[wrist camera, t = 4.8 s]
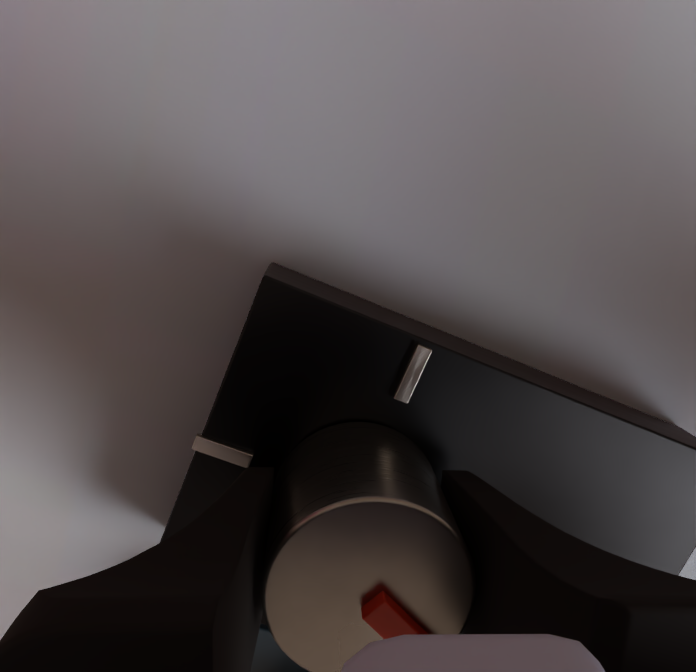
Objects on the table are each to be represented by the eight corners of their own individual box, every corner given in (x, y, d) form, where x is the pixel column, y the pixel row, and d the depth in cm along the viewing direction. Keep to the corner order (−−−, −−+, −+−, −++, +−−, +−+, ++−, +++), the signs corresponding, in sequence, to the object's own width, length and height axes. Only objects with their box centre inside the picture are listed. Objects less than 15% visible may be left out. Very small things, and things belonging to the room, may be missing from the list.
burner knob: (238, 493, 14) (211, 606, 10) (363, 387, 13) (384, 463, 10) (347, 596, 15) (360, 736, 11) (468, 500, 14) (525, 610, 10)
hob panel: (164, 528, 17) (136, 591, 14) (267, 259, 15) (258, 273, 12) (551, 653, 19) (591, 729, 16) (681, 427, 17) (749, 470, 14)
